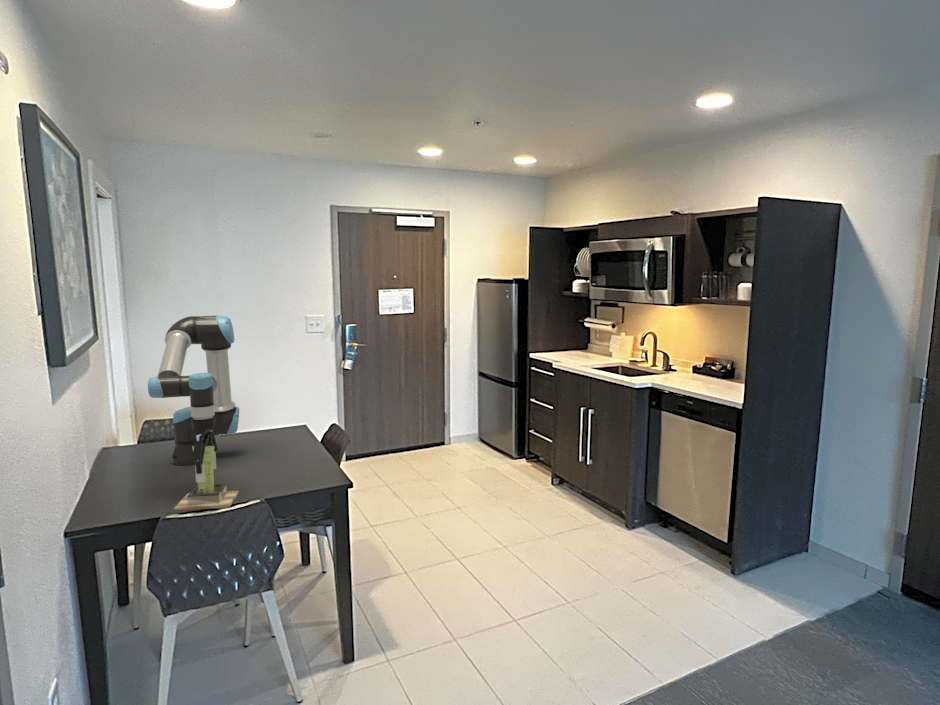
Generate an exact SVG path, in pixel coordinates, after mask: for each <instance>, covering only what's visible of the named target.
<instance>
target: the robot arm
mask: <svg viewBox="0 0 940 705" xmlns="http://www.w3.org/2000/svg"><path fill="white" fill-rule="evenodd" d="M231 320H232V319H231V318H230V317H229V316H227V315H217V314H216V315H203V316H202V315H201V316H200V315H199V316H197V315H196V316H195V315H193V316H192V315H191V316H186V317H183V318H181V319H179V320H178V321H176V322H175V323H174V324H172V325H171V326H170V327H169V329H168V330H167V332H166V333H165V336H164V343H165V348H164V351H163V355H162V359H161V362H160V366H159V370H158V374H157V376H152V377H150V378H148V381H147V392H148V395H149V396H150V397H151V399H152V398H153V399H157V398H158V399H164V398H178V397H179V398H180V397H181V398H182V397H189V400H190V406H186V407H183V408H180V409H178V410H175V412H174V413H173V416H172V419H173V420H172V424H173V437H174V447H173V450H172V454H171V456H170V457H171V458H170V460H171V462H170V463H171V464H173V465H176V466H191V465H194V469H195V470H194V471H195V483H198V482H205V473H204V463H203V458H204V452H205V447H206V446H214V470H217V457H216V452H217V451H219V449H218V444H217V440H216V436H223V435H225V436H227V435H231V434H236V433H237V432H238V428H239V418H240V407H238V406H237V405H236V403H235V402H234V401H232V392H231V390H232V389H231V378H230V365H229V364H230V362H229V354H228V351H229V349H230V348H232V345H233V343H235V333H234V327H233V323H232V321H231ZM191 345H200V347H201V350H202V351H204V352H205V359H206V369H207V370H206V371H207V372H196V373H192V374H190V375H182V372H183V370H184V369H183V368H184V364H185V360H186V355H187V350H188V348H189V347H190V346H191ZM192 446H194V450H193V449H192ZM197 460H199V461H197Z"/></svg>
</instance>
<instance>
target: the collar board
mask: <svg viewBox="0 0 940 705" xmlns="http://www.w3.org/2000/svg"><path fill="white" fill-rule="evenodd" d="M239 494H240V490H228V484H227V483H216V484H215V483H214V493H209V494H199V488H198V484H197V485H195V486H194V488H193V489H191V491H190V492H187V493H186V494H185V496H183V498H181V500H180V501H179V502H178V503H177V504H176V505H175V506H174V508H173V509H174V511H191V510H193V511H194V510H209V509H228V508H230V507H231V506H232V505H233V502H234V501H235V500H236V498H237V497H238V495H239Z"/></svg>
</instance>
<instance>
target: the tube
mask: <svg viewBox="0 0 940 705" xmlns="http://www.w3.org/2000/svg"><path fill="white" fill-rule="evenodd" d="M192 449H193V450H194V446H192ZM214 452H215V451H214V446H206V447H205V452H204V458H203V463H204V473H205V482H197V485H198V488H199V494H209V493H214V484H215V476H214V475H215V474H214V473H215V469H214ZM197 461H199V460H197Z"/></svg>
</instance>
